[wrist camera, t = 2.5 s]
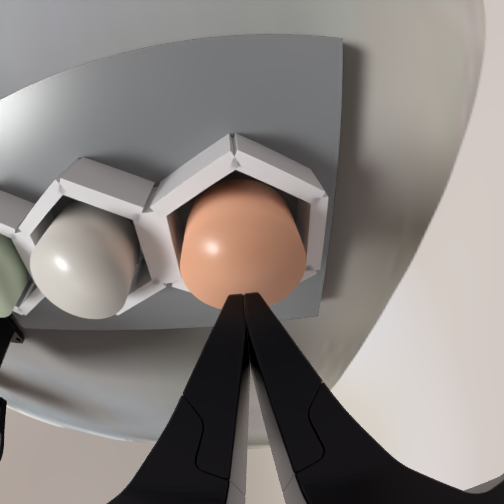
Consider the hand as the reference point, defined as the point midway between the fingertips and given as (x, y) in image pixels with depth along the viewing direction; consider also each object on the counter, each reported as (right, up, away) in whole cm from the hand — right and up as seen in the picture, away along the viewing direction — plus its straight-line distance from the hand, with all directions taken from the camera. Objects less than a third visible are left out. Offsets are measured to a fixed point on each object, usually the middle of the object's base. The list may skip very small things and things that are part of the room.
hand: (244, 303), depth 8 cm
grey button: (-6, +2, +3) cm, 7 cm away
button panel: (-6, +3, +5) cm, 9 cm away
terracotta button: (0, +2, +3) cm, 4 cm away
